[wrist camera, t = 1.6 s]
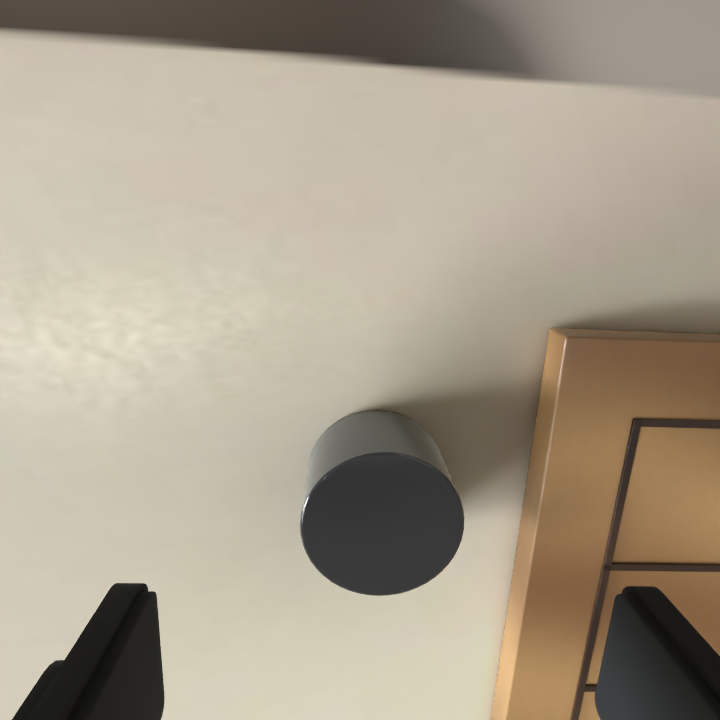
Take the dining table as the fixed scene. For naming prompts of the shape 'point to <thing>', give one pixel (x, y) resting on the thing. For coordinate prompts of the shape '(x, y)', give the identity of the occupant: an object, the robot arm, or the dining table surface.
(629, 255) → the dining table surface
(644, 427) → the game board
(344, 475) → the grey metallic short cylinder
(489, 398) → the dining table surface
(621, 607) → the robot arm
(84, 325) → the dining table surface
